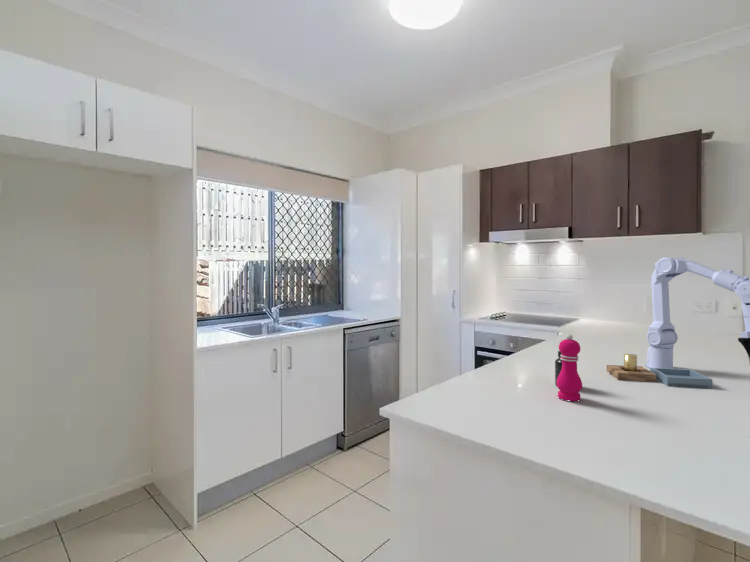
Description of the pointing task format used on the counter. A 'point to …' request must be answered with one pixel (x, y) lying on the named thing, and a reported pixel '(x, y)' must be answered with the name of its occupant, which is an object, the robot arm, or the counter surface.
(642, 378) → the walnut socket block
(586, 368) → the counter surface
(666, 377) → the slate-blue tray
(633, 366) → the brass peg
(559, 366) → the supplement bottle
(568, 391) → the pepper mill
